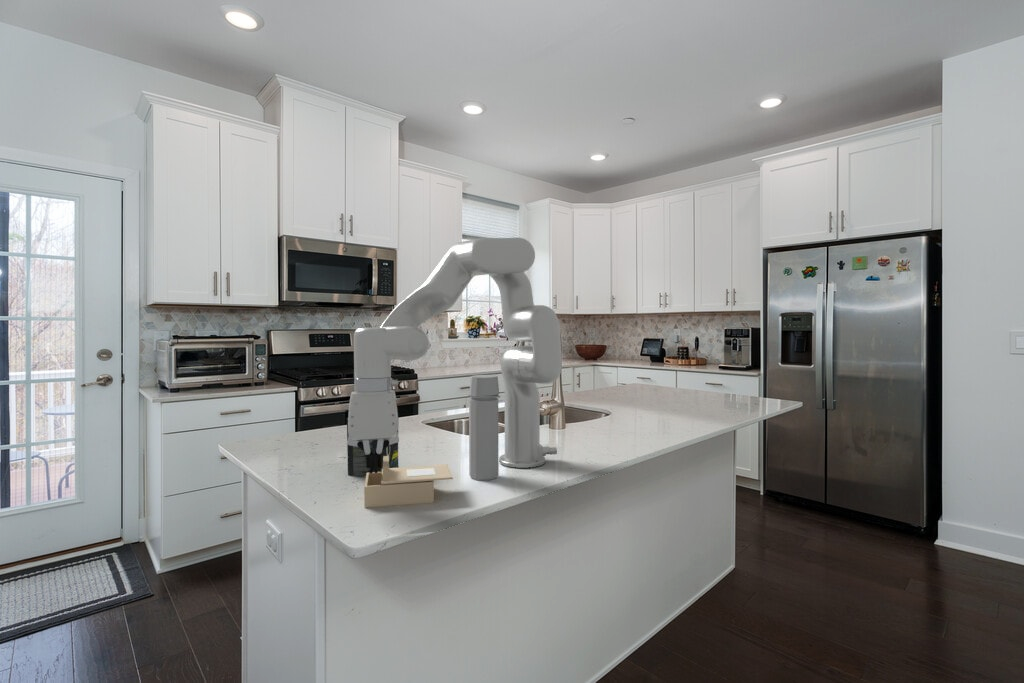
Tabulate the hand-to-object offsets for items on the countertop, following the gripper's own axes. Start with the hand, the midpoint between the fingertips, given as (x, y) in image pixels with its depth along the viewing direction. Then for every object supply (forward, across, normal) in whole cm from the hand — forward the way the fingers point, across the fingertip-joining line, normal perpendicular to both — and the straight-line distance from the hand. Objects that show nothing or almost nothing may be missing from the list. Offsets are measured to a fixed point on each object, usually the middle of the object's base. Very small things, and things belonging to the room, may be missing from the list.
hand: (373, 471), depth 109 cm
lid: (+1, -9, 0) cm, 9 cm away
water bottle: (+7, -26, -11) cm, 29 cm away
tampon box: (+7, +1, -22) cm, 23 cm away
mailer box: (+6, -5, 0) cm, 8 cm away
